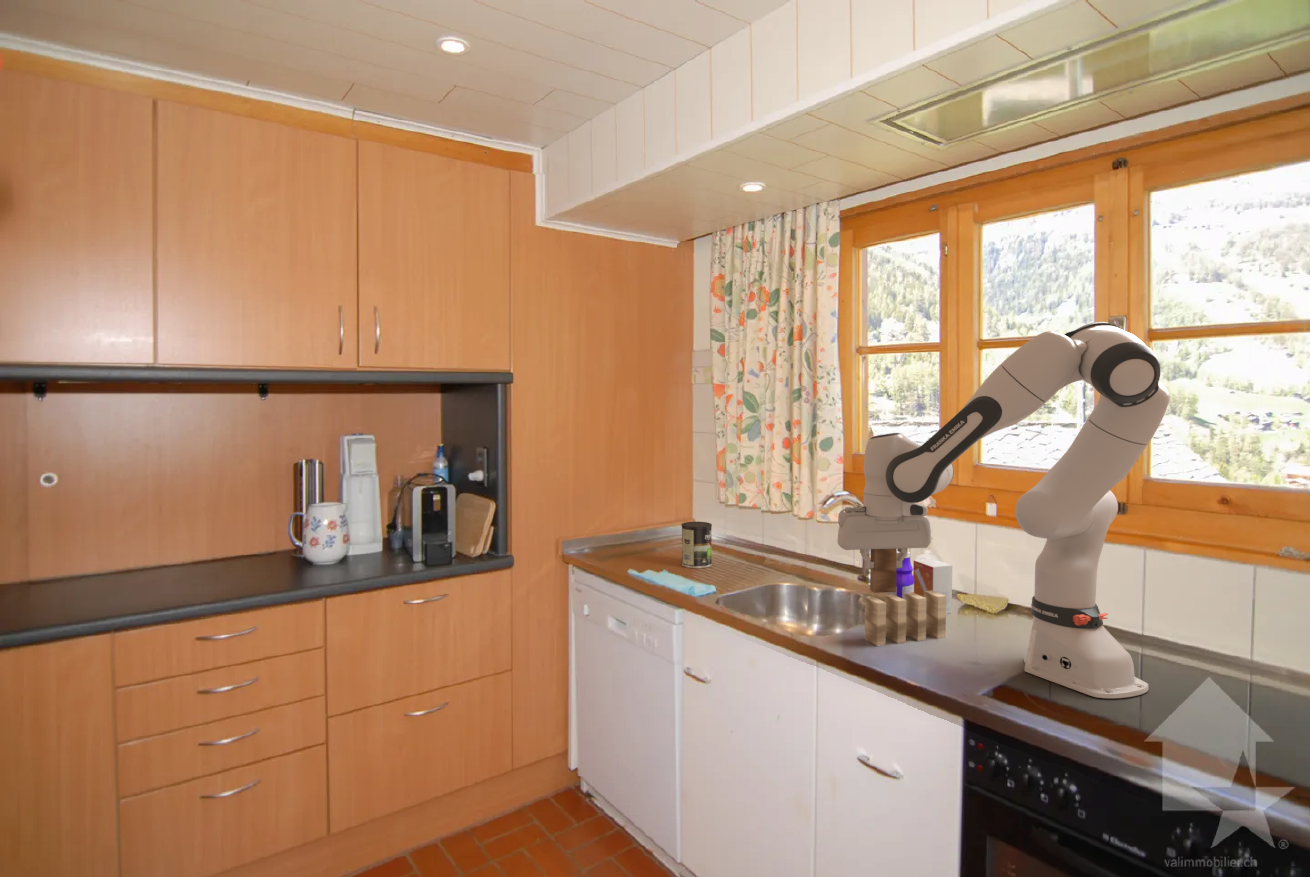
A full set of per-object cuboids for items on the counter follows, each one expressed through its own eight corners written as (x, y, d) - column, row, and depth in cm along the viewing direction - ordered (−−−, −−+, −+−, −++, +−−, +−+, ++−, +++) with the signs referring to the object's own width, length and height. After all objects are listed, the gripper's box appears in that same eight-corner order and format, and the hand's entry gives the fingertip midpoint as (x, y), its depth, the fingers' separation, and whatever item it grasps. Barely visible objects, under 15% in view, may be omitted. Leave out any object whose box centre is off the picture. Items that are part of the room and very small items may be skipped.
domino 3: (905, 642, 161) (906, 600, 161) (897, 643, 161) (898, 601, 160) (892, 635, 166) (893, 594, 165) (884, 636, 165) (885, 595, 165)
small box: (911, 607, 188) (912, 559, 187) (931, 604, 190) (932, 557, 189) (932, 616, 180) (933, 566, 180) (952, 613, 182) (953, 564, 181)
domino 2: (885, 645, 160) (886, 602, 159) (877, 646, 159) (877, 603, 158) (872, 638, 164) (873, 596, 164) (864, 639, 164) (865, 597, 163)
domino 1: (891, 589, 156) (892, 545, 155) (896, 592, 153) (896, 547, 153) (870, 590, 155) (870, 545, 154) (874, 592, 153) (874, 548, 152)
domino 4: (925, 640, 163) (926, 598, 162) (917, 641, 162) (918, 599, 162) (912, 633, 168) (912, 592, 167) (904, 634, 167) (904, 593, 166)
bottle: (896, 612, 183) (897, 547, 182) (917, 617, 179) (918, 550, 178) (883, 618, 178) (884, 552, 177) (904, 623, 174) (905, 555, 173)
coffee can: (715, 562, 240) (715, 522, 239) (707, 569, 230) (707, 527, 229) (686, 560, 243) (686, 520, 242) (677, 567, 233) (677, 525, 233)
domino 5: (945, 637, 164) (946, 596, 164) (937, 638, 164) (938, 596, 163) (931, 630, 169) (932, 590, 169) (923, 631, 169) (924, 591, 168)
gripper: (843, 509, 149) (843, 573, 150) (935, 507, 151) (933, 570, 152) (833, 505, 155) (832, 566, 156) (921, 503, 157) (920, 563, 158)
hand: (883, 568), depth 154 cm, fingers closed on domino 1, 5 cm apart
